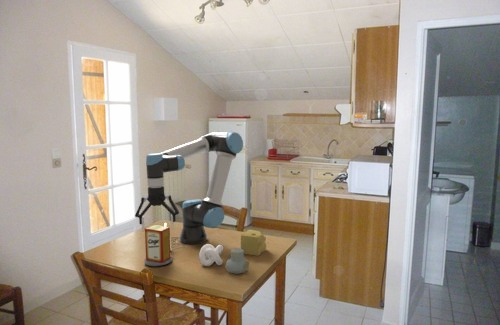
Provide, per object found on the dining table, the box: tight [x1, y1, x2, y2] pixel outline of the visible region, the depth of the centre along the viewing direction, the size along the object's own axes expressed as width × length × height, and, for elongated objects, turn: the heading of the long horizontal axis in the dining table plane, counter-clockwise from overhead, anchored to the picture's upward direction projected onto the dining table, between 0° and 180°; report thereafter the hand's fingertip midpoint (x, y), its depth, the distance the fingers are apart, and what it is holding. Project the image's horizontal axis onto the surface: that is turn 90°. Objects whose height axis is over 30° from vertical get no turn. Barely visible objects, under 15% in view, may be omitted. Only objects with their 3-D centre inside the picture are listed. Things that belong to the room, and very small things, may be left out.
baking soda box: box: [144, 224, 172, 263], centre depth 177 cm, size 10×6×16 cm
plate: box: [143, 255, 173, 267], centre depth 178 cm, size 13×13×1 cm
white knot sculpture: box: [198, 243, 224, 267], centre depth 174 cm, size 11×12×9 cm
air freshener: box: [225, 247, 250, 275], centre depth 166 cm, size 11×8×10 cm
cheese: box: [240, 229, 267, 257], centre depth 191 cm, size 10×11×10 cm
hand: (158, 229), depth 176 cm, fingers open, 13 cm apart
